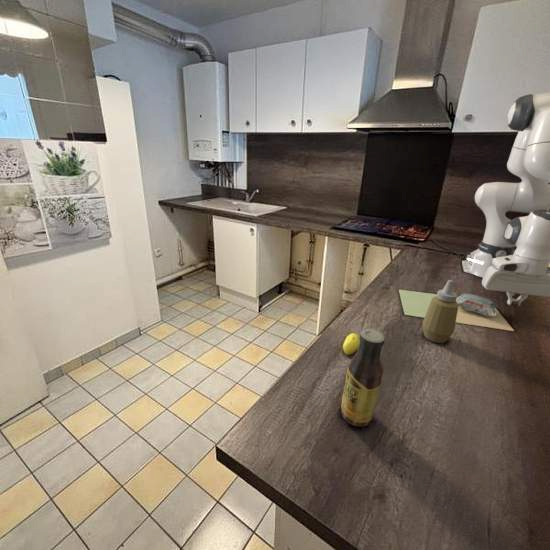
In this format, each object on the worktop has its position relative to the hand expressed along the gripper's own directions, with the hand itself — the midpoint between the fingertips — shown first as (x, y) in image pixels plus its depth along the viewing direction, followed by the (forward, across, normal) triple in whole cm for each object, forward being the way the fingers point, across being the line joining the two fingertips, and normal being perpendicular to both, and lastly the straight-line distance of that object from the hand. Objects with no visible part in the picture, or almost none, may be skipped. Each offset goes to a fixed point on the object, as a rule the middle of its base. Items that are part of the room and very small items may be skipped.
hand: (513, 304), depth 94 cm
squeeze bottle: (+5, +26, +21) cm, 34 cm away
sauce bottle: (+5, +47, +56) cm, 73 cm away
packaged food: (+4, +10, 0) cm, 11 cm away
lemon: (+5, +49, +34) cm, 60 cm away
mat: (+4, +17, 0) cm, 18 cm away
